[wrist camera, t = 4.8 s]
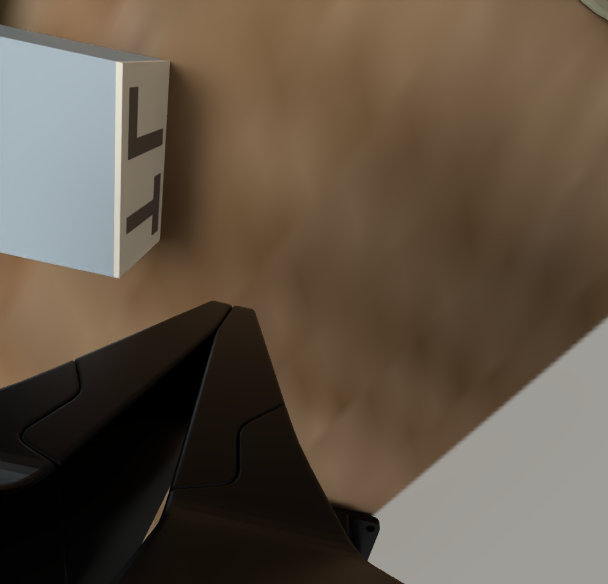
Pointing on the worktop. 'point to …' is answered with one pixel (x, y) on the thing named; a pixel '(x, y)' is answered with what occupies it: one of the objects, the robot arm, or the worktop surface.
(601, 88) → the worktop surface
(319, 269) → the worktop surface
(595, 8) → the can
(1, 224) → the light blue box
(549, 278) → the worktop surface
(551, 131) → the worktop surface
